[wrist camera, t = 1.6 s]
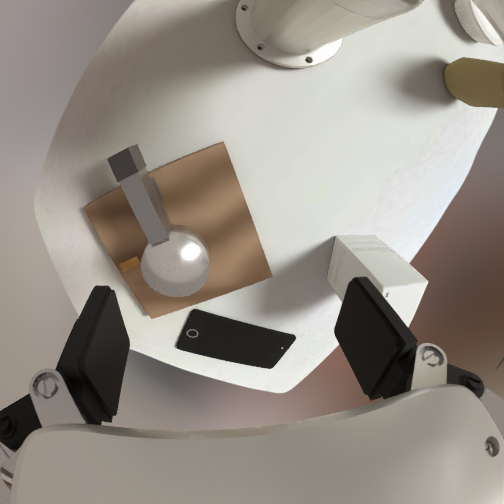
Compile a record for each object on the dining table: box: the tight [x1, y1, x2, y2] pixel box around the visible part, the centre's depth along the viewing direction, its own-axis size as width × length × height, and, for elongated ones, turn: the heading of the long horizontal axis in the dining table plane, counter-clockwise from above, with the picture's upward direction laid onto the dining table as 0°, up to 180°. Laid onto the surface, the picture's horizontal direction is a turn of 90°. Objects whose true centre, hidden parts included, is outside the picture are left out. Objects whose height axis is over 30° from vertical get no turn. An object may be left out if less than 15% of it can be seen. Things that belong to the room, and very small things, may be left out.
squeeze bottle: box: [444, 57, 504, 108], centre depth 19 cm, size 8×8×18 cm
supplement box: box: [327, 236, 428, 327], centre depth 33 cm, size 7×7×13 cm
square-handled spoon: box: [108, 144, 209, 297], centre depth 25 cm, size 16×7×3 cm, turn 18°
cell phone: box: [177, 309, 296, 369], centre depth 42 cm, size 9×18×1 cm, turn 63°
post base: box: [84, 142, 273, 319], centre depth 31 cm, size 18×18×4 cm
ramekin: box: [454, 0, 502, 46], centre depth 18 cm, size 11×11×5 cm
